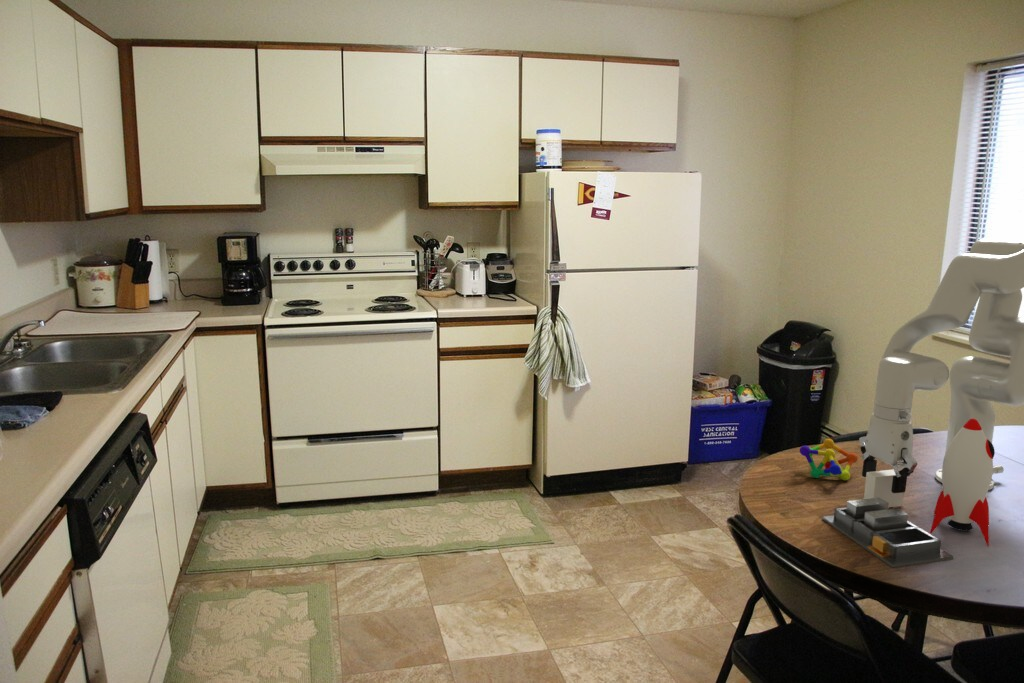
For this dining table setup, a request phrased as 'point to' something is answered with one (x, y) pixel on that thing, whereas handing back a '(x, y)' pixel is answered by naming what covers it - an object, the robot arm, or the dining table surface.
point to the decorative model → (829, 460)
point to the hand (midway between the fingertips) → (882, 484)
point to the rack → (886, 533)
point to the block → (882, 487)
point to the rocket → (966, 480)
